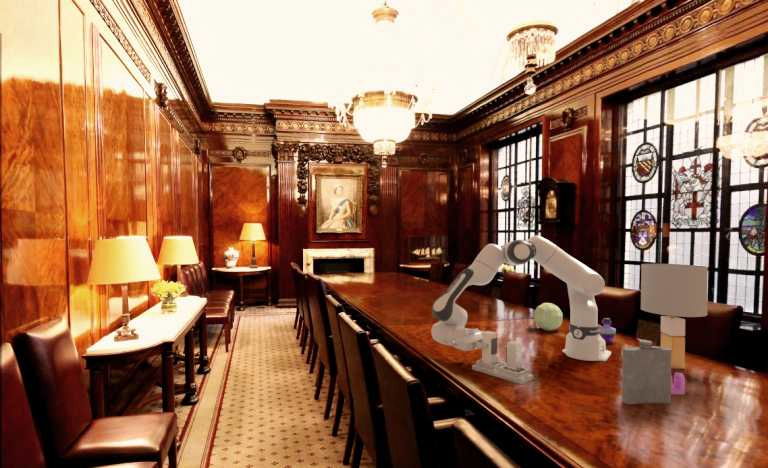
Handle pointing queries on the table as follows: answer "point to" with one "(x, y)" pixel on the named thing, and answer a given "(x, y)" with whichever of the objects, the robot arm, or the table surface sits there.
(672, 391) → the bracket
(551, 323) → the decorative sphere
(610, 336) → the potion bottle
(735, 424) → the table surface
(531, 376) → the pillar on stepped tray
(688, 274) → the lamp
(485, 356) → the loose rectangular block
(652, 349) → the hip flask
